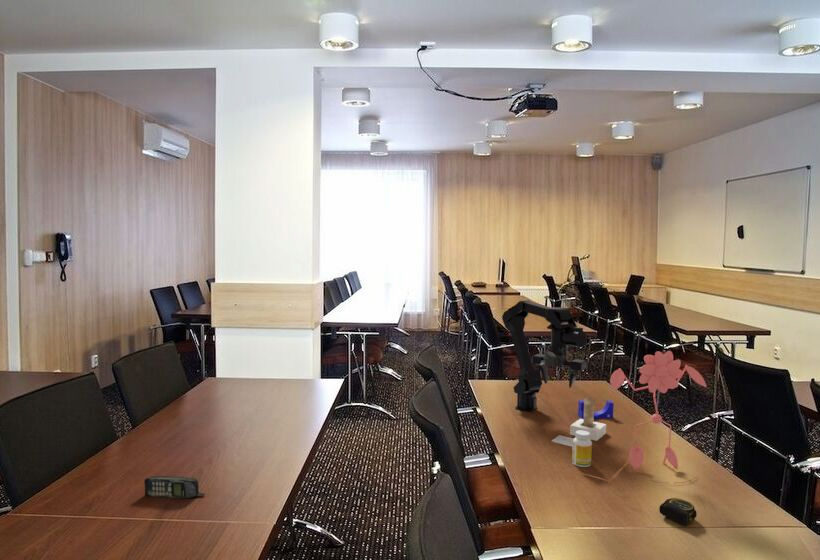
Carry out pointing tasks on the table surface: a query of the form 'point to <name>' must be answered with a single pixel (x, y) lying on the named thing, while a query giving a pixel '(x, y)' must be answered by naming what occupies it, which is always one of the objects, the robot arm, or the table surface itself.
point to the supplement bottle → (582, 449)
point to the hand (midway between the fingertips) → (557, 385)
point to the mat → (563, 440)
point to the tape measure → (678, 510)
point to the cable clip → (604, 413)
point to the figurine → (658, 376)
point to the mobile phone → (172, 487)
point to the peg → (588, 412)
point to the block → (589, 429)
